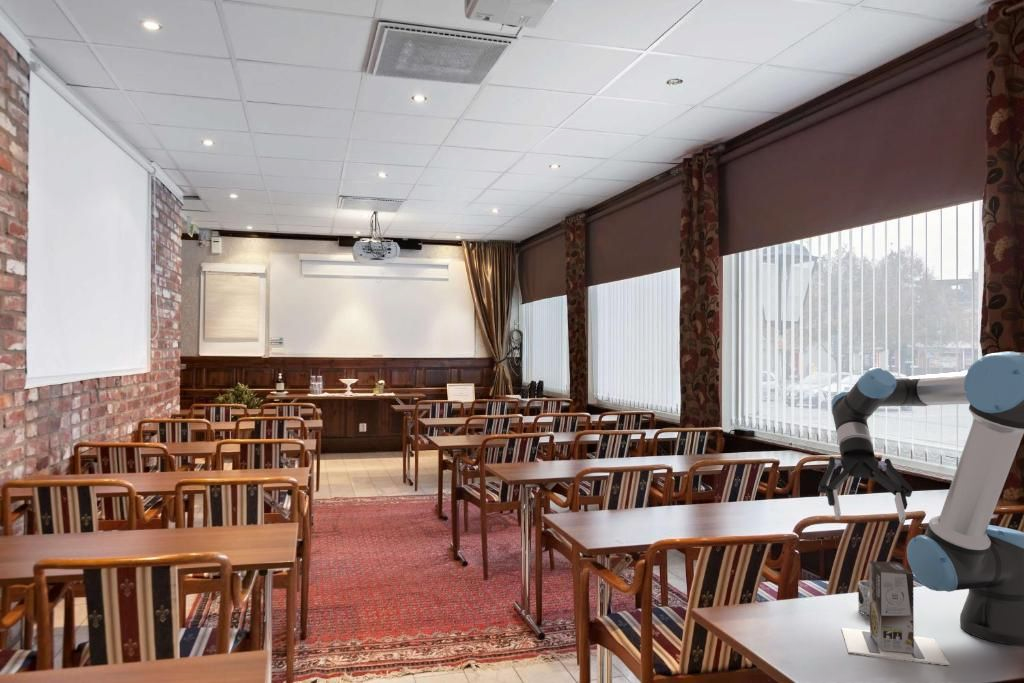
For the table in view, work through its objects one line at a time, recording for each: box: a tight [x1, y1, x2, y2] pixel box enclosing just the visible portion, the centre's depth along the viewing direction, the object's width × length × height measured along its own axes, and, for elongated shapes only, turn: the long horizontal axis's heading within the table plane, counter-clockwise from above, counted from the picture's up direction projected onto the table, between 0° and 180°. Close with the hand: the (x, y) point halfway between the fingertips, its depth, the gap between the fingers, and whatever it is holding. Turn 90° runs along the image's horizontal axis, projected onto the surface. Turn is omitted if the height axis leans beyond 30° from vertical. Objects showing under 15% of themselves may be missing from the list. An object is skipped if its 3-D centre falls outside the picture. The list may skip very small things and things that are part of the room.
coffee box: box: [868, 560, 915, 653], centre depth 151 cm, size 9×6×16 cm
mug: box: [857, 579, 870, 617], centre depth 170 cm, size 10×7×7 cm
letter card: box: [840, 627, 950, 666], centre depth 150 cm, size 18×14×1 cm
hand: (870, 518), depth 164 cm, fingers open, 13 cm apart
